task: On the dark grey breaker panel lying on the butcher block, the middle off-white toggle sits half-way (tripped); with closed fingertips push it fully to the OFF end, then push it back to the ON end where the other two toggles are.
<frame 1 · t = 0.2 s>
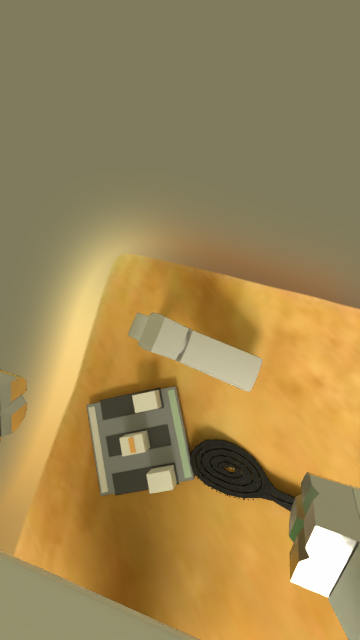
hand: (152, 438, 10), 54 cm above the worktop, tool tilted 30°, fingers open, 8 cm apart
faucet: (199, 352, 64), on the worktop
hairbrush: (259, 483, 59), on the worktop
panel: (140, 439, 63), on the worktop
breaker 3: (147, 401, 60), point 3 cm above the worktop, slide at -3.5 cm
breaker 2: (134, 443, 59), point 4 cm above the worktop, slide at 0.0 cm
breaker 1: (161, 478, 58), point 3 cm above the worktop, slide at -3.5 cm
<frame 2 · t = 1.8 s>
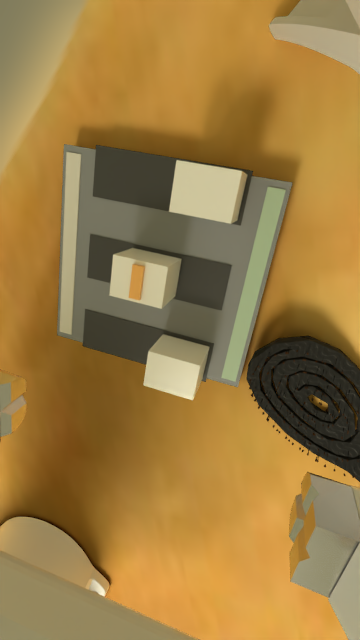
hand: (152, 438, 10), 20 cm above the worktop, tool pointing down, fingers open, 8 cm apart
hairbrush: (355, 442, 30), on the worktop
panel: (161, 268, 29), on the worktop
breaker 3: (209, 192, 22), point 3 cm above the worktop, slide at -3.5 cm
breaker 2: (145, 277, 25), point 4 cm above the worktop, slide at 0.0 cm
breaker 1: (177, 365, 27), point 3 cm above the worktop, slide at -3.5 cm
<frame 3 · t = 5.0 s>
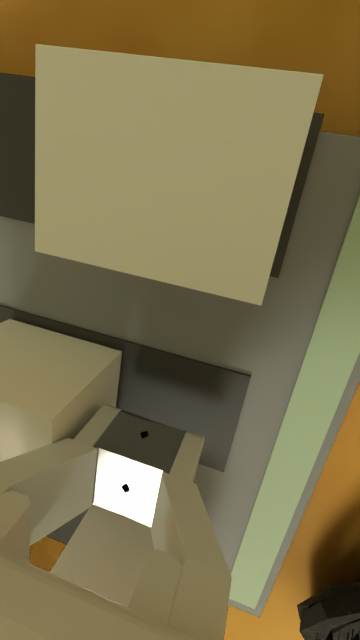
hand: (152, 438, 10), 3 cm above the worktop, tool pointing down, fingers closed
panel: (90, 354, 13), on the worktop
breaker 3: (183, 183, 7), point 3 cm above the worktop, slide at -3.5 cm
breaker 2: (23, 406, 10), point 4 cm above the worktop, slide at 0.1 cm, touching gripper
breaker 1: (119, 594, 12), point 3 cm above the worktop, slide at -3.5 cm
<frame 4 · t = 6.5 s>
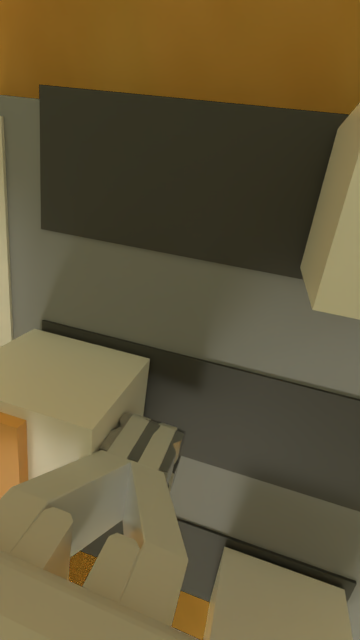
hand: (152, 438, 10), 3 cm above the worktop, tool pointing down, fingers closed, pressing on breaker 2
panel: (215, 389, 12), on the worktop
breaker 2: (53, 417, 10), point 4 cm above the worktop, slide at 4.0 cm, touching gripper
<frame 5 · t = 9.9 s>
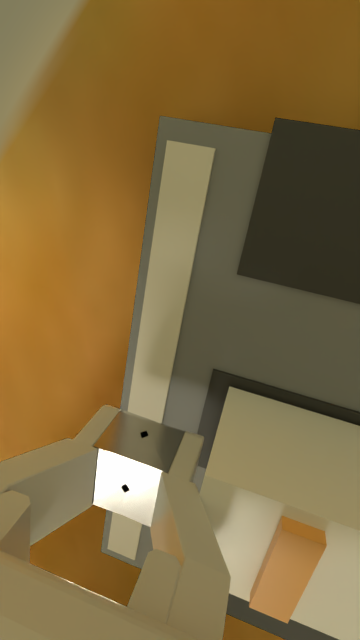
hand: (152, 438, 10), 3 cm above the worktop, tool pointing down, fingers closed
breaker 2: (284, 500, 8), point 4 cm above the worktop, slide at 3.2 cm, touching gripper
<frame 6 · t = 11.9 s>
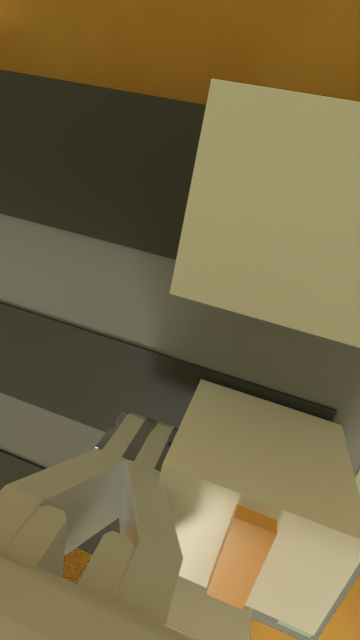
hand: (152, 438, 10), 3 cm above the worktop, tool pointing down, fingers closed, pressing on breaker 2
panel: (149, 373, 13), on the worktop
breaker 3: (316, 221, 6), point 3 cm above the worktop, slide at -3.5 cm
breaker 2: (247, 491, 9), point 4 cm above the worktop, slide at -4.0 cm, touching gripper
breaker 1: (179, 622, 11), point 3 cm above the worktop, slide at -3.5 cm
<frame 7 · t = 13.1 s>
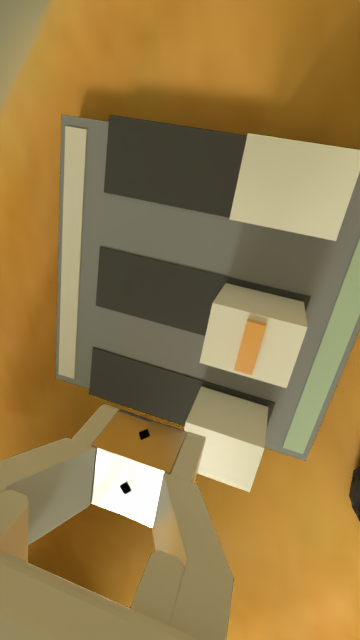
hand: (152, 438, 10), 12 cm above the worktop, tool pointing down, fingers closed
panel: (199, 293, 20), on the worktop
breaker 3: (291, 188, 14), point 3 cm above the worktop, slide at -3.5 cm
breaker 2: (253, 332, 16), point 4 cm above the worktop, slide at -3.6 cm
breaker 1: (223, 435, 19), point 3 cm above the worktop, slide at -3.5 cm
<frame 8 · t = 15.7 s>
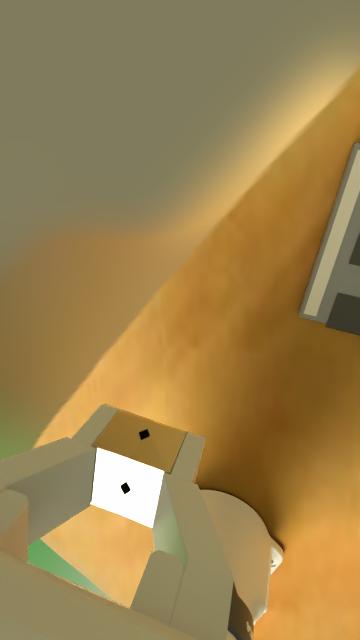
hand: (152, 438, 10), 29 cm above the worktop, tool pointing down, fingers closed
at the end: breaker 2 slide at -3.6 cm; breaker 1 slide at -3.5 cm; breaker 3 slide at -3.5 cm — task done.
